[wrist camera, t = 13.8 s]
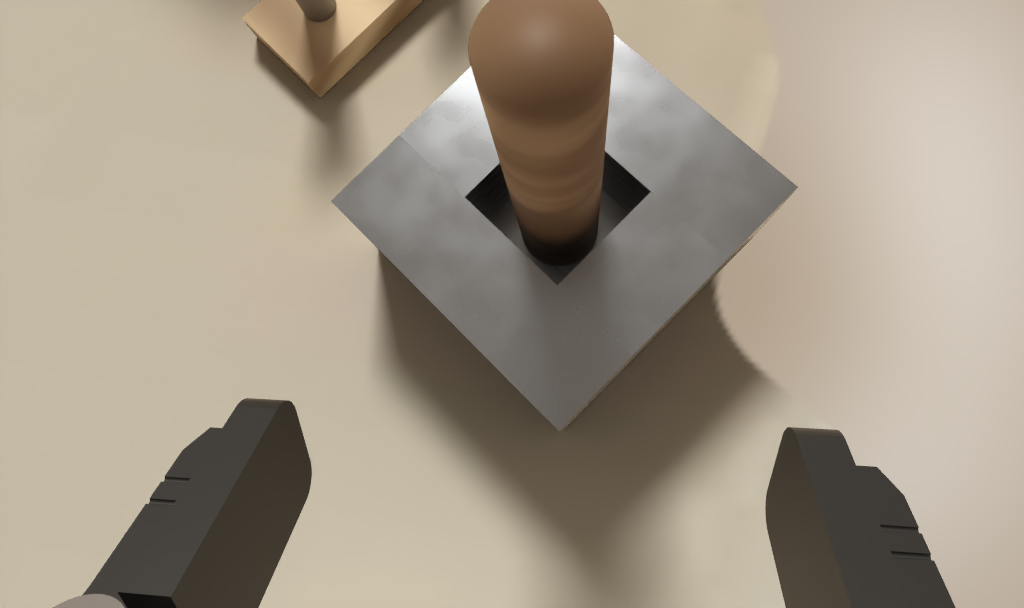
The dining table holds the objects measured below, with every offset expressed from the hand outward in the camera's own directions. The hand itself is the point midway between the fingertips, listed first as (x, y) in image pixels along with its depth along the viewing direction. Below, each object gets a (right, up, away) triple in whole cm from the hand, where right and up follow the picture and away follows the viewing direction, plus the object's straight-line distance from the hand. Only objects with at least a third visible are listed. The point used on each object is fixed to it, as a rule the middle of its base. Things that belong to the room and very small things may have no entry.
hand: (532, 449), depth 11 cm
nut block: (+2, +5, +19) cm, 20 cm away
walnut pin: (+2, +6, +17) cm, 18 cm away
